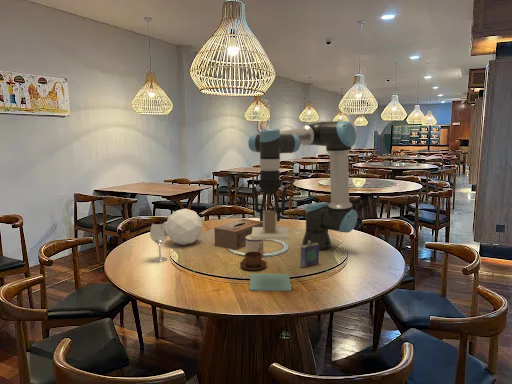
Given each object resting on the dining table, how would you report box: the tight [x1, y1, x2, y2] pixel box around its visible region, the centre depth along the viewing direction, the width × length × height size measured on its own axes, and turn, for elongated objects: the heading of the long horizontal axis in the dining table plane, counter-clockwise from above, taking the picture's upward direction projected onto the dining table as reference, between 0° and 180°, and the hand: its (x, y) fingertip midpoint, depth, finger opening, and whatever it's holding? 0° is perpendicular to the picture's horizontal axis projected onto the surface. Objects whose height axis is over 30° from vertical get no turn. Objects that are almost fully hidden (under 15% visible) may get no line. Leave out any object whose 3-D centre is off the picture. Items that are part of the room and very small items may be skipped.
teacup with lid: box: [245, 234, 264, 257], centre depth 185 cm, size 12×9×12 cm
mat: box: [248, 273, 292, 292], centre depth 151 cm, size 16×16×1 cm
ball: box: [165, 208, 203, 246], centre depth 204 cm, size 19×20×20 cm
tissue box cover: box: [214, 218, 263, 251], centre depth 207 cm, size 26×14×10 cm, turn 146°
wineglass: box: [149, 221, 169, 263], centre depth 177 cm, size 8×8×18 cm
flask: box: [299, 240, 320, 269], centre depth 169 cm, size 10×3×12 cm, turn 121°
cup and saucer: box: [239, 252, 268, 271], centre depth 168 cm, size 12×12×6 cm
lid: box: [251, 210, 290, 240], centre depth 147 cm, size 14×14×9 cm
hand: (269, 229), depth 147 cm, fingers closed on lid, 4 cm apart
